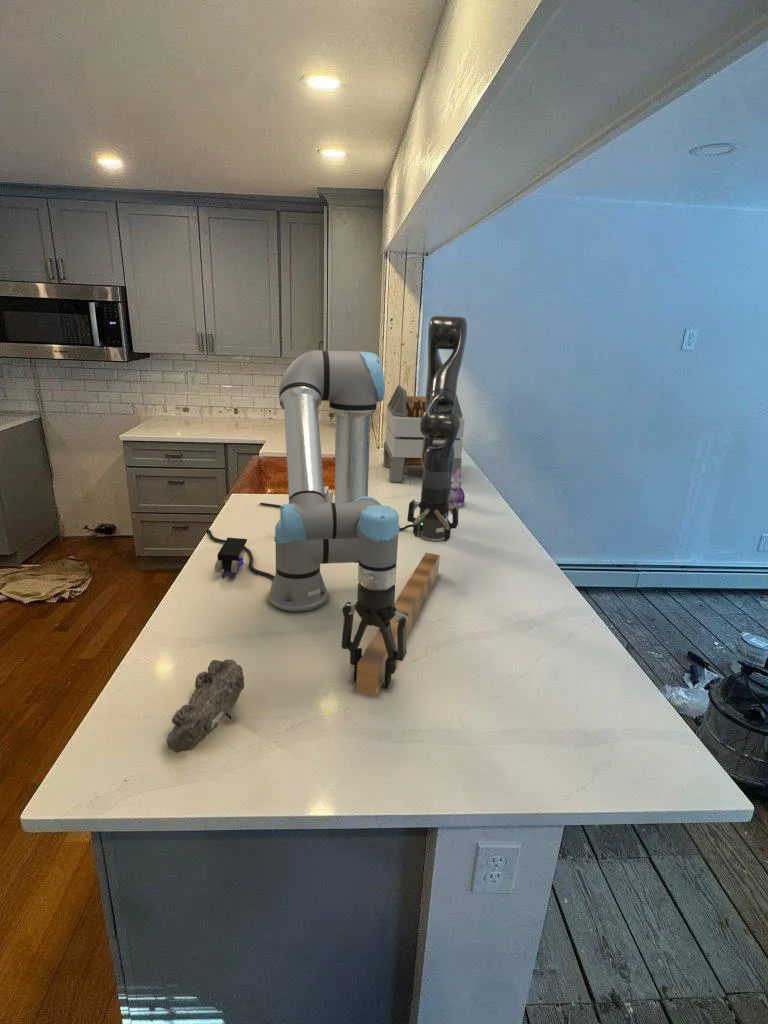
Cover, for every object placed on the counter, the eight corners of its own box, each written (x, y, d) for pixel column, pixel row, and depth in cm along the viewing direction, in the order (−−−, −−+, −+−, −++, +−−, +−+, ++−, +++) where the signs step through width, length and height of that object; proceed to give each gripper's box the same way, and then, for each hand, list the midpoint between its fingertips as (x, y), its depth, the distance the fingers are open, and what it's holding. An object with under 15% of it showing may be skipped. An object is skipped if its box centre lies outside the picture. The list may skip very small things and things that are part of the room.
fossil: (192, 660, 117) (244, 628, 112) (224, 691, 120) (276, 661, 115) (142, 746, 98) (202, 712, 93) (182, 779, 101) (242, 748, 96)
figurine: (451, 509, 226) (454, 473, 221) (437, 502, 234) (440, 467, 229) (470, 507, 230) (474, 471, 225) (456, 499, 238) (459, 465, 233)
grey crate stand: (382, 463, 289) (386, 382, 275) (445, 464, 293) (451, 384, 279) (390, 482, 257) (394, 392, 243) (460, 483, 261) (468, 394, 247)
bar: (424, 572, 171) (425, 552, 169) (438, 575, 170) (439, 554, 168) (356, 691, 117) (357, 663, 115) (376, 695, 116) (377, 668, 114)
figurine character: (238, 584, 162) (249, 557, 175) (236, 562, 158) (247, 536, 172) (215, 584, 161) (227, 556, 175) (212, 561, 158) (225, 535, 171)
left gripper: (324, 582, 112) (323, 681, 119) (418, 600, 106) (411, 702, 114) (338, 567, 118) (337, 661, 126) (427, 583, 113) (420, 680, 121)
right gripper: (407, 484, 156) (403, 539, 161) (458, 491, 152) (453, 547, 157) (414, 477, 162) (410, 530, 168) (463, 483, 159) (458, 537, 164)
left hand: (372, 680), depth 120 cm, fingers open, 6 cm apart
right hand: (431, 538), depth 163 cm, fingers open, 8 cm apart
